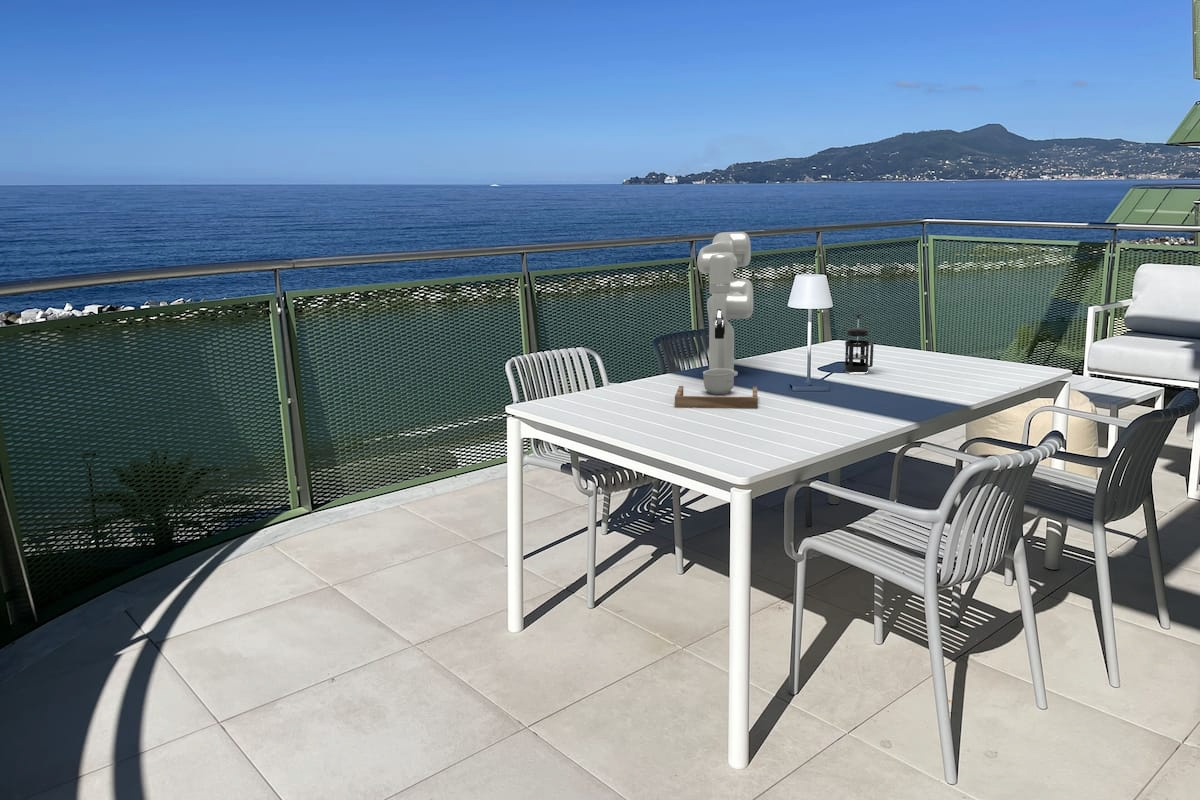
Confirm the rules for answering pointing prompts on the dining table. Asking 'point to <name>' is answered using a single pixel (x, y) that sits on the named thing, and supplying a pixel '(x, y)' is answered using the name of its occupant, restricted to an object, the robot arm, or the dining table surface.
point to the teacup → (718, 380)
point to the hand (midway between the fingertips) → (719, 336)
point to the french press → (857, 343)
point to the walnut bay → (715, 401)
